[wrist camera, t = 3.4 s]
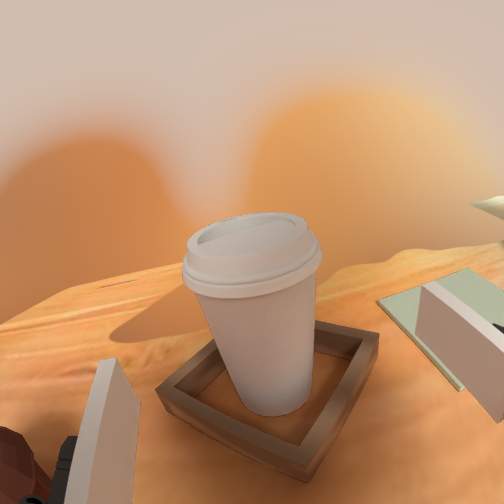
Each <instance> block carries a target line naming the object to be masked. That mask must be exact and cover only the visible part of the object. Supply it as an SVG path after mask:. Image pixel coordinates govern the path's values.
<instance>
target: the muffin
mask: <svg viewBox="0 0 504 504" xmlns="http://www.w3.org/2000/svg"><path fill="white" fill-rule="evenodd" d="M51 486H52V481H51V480H50V479H49V477H48V476H47V475H46V474H45V473H44V471H43V470H42V469H41V468H40V466H39V465H38V464H37V462H36V461H35V460H34V453H33V452H32V450H31V449H30V447H29V446H28V444H27V442H26V441H25V439H24V438H23V436H22V435H21V434H19V433H17V432H15V431H12V430H10V429H8V428H6V427H2V426H0V504H18V502H19V500H20V499H22V498H23V497H24V496H26V495H29V494H34V495H38V496H40V497H41V498H43V499H44V500H46V501H47V502H48V501H49V496H50V491H51Z"/></svg>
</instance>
